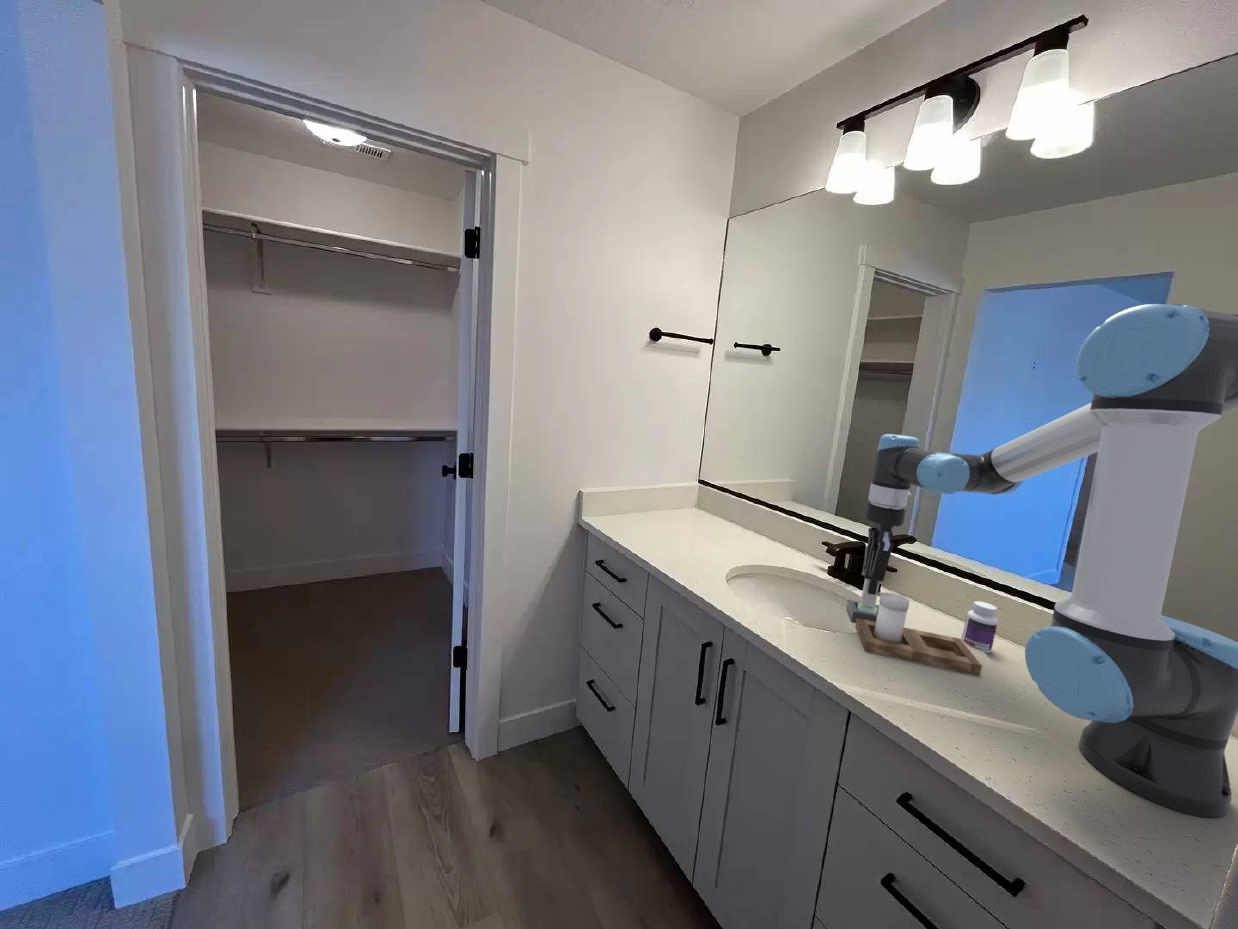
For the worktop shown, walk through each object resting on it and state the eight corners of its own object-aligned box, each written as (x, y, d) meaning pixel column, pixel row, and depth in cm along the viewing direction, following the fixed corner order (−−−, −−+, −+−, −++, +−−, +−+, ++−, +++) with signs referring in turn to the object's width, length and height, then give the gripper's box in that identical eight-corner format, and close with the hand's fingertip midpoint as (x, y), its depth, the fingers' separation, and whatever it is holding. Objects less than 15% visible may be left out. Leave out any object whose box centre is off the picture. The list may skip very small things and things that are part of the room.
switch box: (884, 633, 111) (887, 618, 110) (850, 626, 113) (853, 611, 112) (877, 619, 117) (880, 605, 117) (845, 613, 119) (848, 599, 119)
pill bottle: (996, 656, 105) (1006, 612, 104) (967, 651, 106) (977, 608, 105) (983, 643, 111) (992, 602, 109) (956, 639, 112) (965, 597, 110)
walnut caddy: (957, 652, 105) (960, 638, 105) (978, 680, 95) (982, 665, 94) (854, 630, 110) (856, 618, 110) (864, 655, 100) (866, 641, 100)
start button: (876, 625, 112) (879, 612, 112) (857, 621, 113) (859, 608, 113) (872, 617, 116) (875, 604, 116) (854, 614, 117) (856, 601, 117)
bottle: (903, 652, 101) (912, 605, 99) (874, 646, 102) (883, 600, 100) (896, 640, 106) (905, 595, 104) (869, 635, 107) (878, 590, 105)
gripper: (914, 514, 103) (892, 621, 107) (898, 501, 116) (879, 597, 120) (874, 508, 105) (854, 613, 109) (862, 496, 118) (845, 591, 122)
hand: (867, 605), depth 114 cm, fingers closed
